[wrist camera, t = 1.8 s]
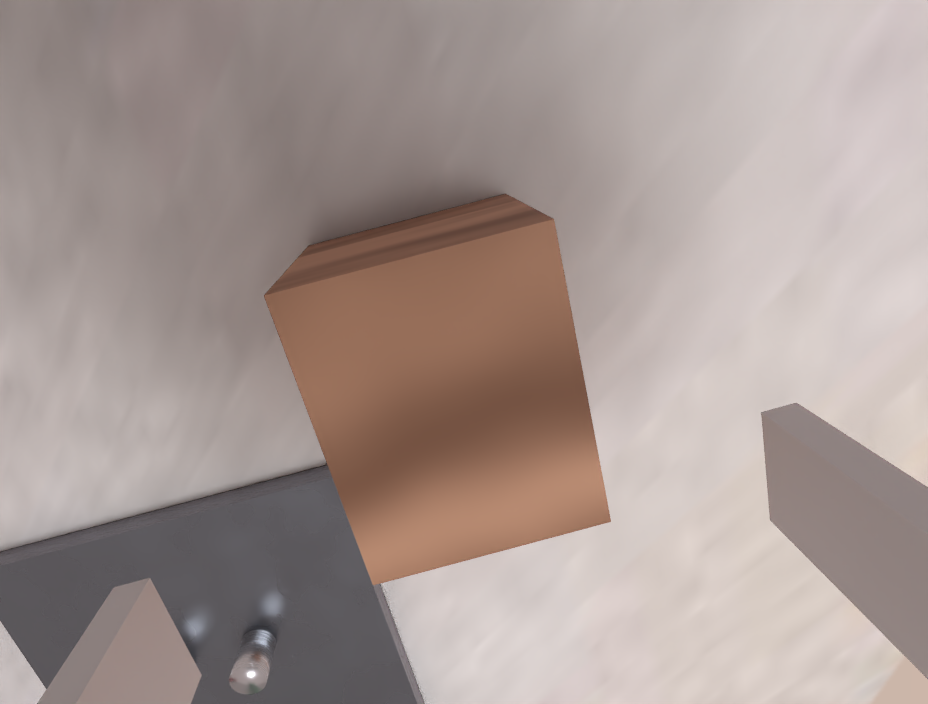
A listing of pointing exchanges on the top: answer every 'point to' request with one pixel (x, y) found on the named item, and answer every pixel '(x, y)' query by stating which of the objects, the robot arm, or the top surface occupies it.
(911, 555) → the robot arm
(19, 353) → the top surface
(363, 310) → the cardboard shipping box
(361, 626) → the boss plate
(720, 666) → the top surface
